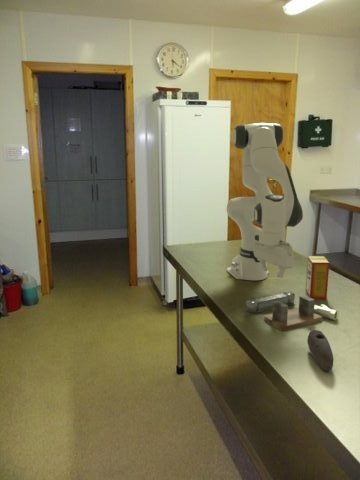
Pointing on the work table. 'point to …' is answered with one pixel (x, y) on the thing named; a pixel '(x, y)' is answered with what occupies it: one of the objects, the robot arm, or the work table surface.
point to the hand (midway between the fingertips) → (272, 273)
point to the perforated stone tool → (320, 349)
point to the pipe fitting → (325, 311)
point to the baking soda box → (317, 277)
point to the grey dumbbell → (268, 302)
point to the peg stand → (293, 314)
